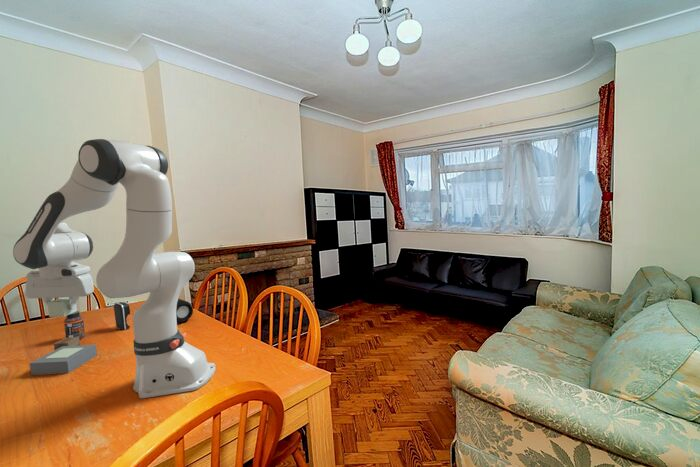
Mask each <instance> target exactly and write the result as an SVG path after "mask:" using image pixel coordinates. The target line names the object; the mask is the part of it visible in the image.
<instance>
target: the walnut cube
mask: <svg viewBox="0 0 700 467" xmlns="http://www.w3.org/2000/svg"><path fill="white" fill-rule="evenodd" d="M80 342H81V341H80V340H79V337H73V338H66V337H65V338H63V339H60V340H58V341H56V342H54V343H53V351H54V350H56V349H58V348H60V347H62V346H78V345H81V343H80Z"/></svg>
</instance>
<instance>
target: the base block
mask: <svg viewBox="0 0 700 467" xmlns="http://www.w3.org/2000/svg"><path fill="white" fill-rule="evenodd" d="M96 356H98V351H97V345H96V344H82V345H81V344H80V345H78V346H62V347H60V348H58V349H56V350H54V349H53V350H52V351H50V352H48V353H46V354H45V355H43V356H41V357H39V358H37V359H35V360H33V361H31V362H29V367H30V375H33V376H35V375H37V376H38V375H51V374H53V375H54V374H55V375H56V374H70V373H71V372H73V371H74V370H76V369H78V368H79V367H81V366H82V365H84V364H85V363H87V362H88V361H90V360H92V359H93V358H95V357H96Z"/></svg>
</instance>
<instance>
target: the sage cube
mask: <svg viewBox="0 0 700 467" xmlns="http://www.w3.org/2000/svg"><path fill="white" fill-rule="evenodd" d="M70 302H71V300H69V297H59V298H55V299H52V301H50V302H47V305H48V306H47V305H46V306H47V311H48V317H49V318H53V317H54V318H57V317H58V318H61V317H67V315H69V314H71V313H74V312H76V311H78V308H77V307H78V306H76V308H75V309H73V310H68V307H67V305H69V304H70Z"/></svg>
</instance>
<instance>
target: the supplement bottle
mask: <svg viewBox="0 0 700 467" xmlns="http://www.w3.org/2000/svg"><path fill="white" fill-rule="evenodd" d="M63 324H64V325H63V326H64V332H65V333H64V334H65V338H73V337H79V341H80V340H82V339H84V338H85V336H86V334H85V333H86V332H85V324H84V317H83V316H82V315H80V311H79V310H77V311H76V312H74V313H71V314H69V315H66V318H65V319H64V320H63Z"/></svg>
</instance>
